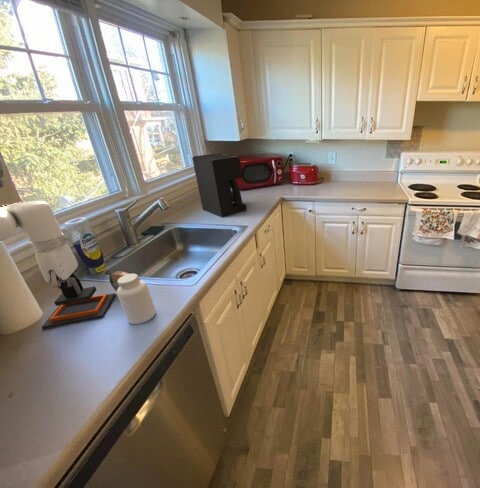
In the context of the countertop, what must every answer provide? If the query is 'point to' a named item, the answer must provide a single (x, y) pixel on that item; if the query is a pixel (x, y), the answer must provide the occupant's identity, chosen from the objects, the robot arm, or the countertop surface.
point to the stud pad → (75, 299)
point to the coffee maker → (219, 183)
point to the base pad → (80, 311)
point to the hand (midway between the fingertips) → (74, 292)
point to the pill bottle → (135, 299)
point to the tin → (116, 278)
